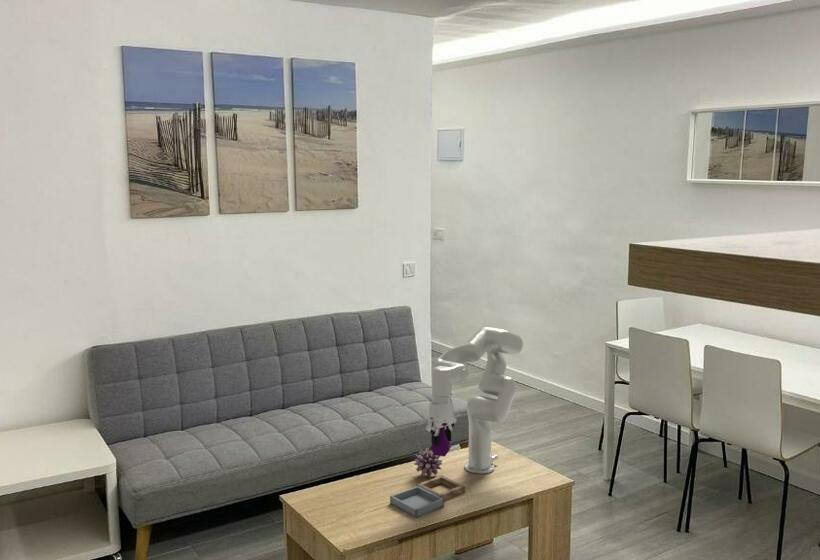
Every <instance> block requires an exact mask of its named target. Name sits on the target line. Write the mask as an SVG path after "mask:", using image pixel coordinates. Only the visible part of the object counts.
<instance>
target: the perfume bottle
mask: <svg viewBox="0 0 820 560" xmlns="http://www.w3.org/2000/svg"><path fill="white" fill-rule="evenodd" d="M445 421H446V420H445ZM446 425H447V423H444V424H442V426H444V427H442V428H439V430H438V434H437V436H438V445H437V446H436V445H435V444H432V443H431V446H430V447H429V450H431V451H432V452H433V453H434V455H437V456H440V457H446V455H448V453H449V451H450V449H451V447H452V446H453V445H452V443H451V441H449V440H448V439H447V437H446V435H445V429H446V428H445V426H446Z"/></svg>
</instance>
